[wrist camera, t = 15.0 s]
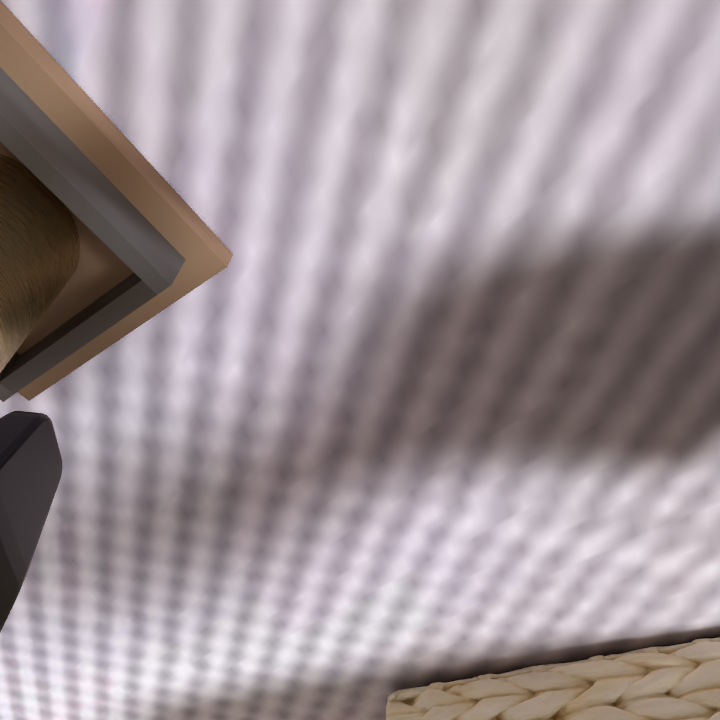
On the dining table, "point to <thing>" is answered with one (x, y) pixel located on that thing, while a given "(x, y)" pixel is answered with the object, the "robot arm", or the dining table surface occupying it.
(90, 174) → the square brown tray
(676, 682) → the storage basket
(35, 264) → the billet
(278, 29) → the dining table surface
